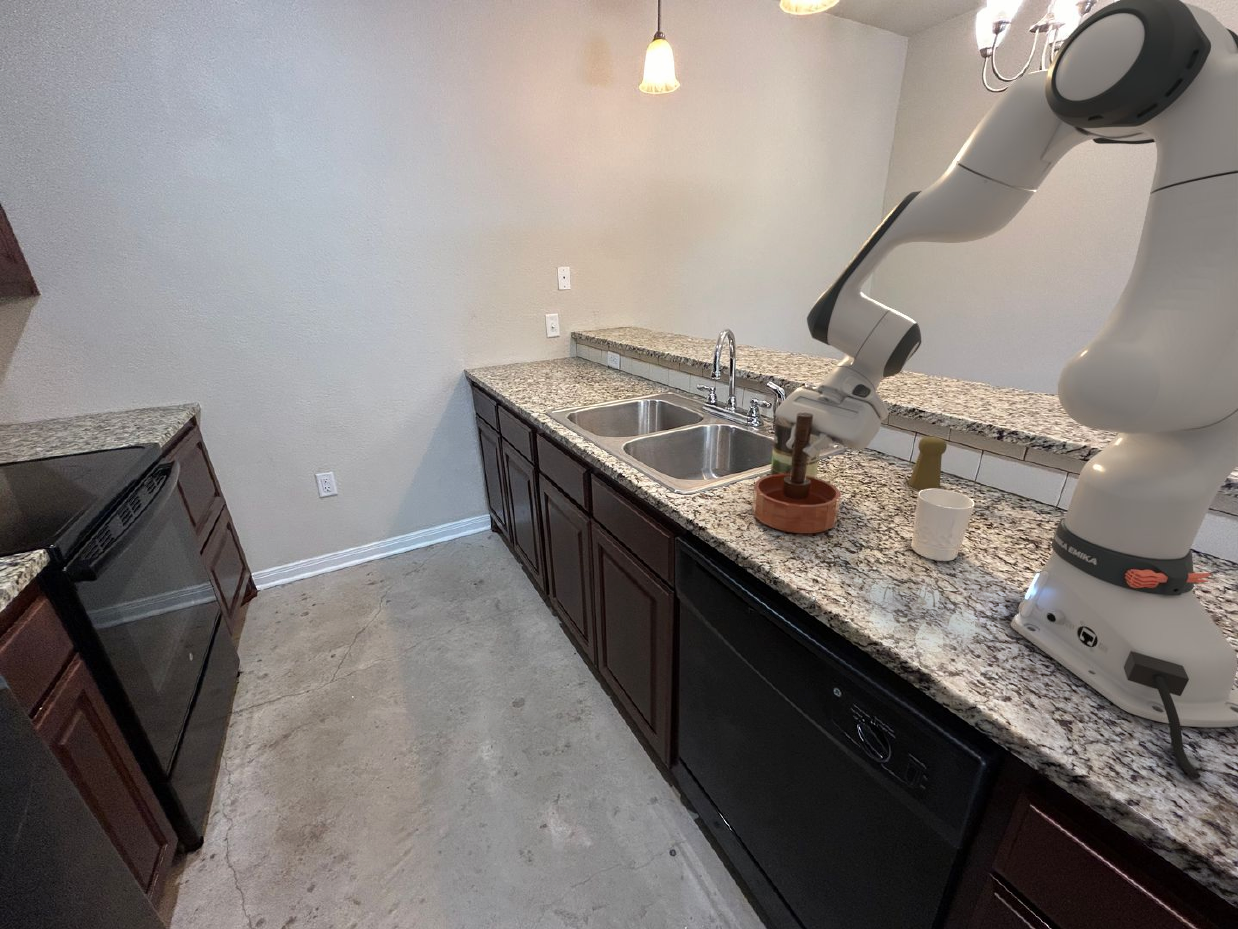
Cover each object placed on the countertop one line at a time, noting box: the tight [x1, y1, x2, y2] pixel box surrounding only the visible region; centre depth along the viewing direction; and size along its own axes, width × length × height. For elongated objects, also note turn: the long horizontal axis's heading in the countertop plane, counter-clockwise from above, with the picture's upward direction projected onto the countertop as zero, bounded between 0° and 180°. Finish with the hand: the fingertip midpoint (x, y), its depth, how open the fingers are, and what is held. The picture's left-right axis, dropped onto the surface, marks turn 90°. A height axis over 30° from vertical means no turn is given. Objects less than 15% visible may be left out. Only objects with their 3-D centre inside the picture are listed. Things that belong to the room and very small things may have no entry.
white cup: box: [910, 488, 976, 562], centre depth 83 cm, size 8×8×10 cm
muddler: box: [783, 413, 813, 499], centre depth 94 cm, size 5×5×16 cm
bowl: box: [752, 474, 841, 534], centre depth 97 cm, size 16×16×6 cm
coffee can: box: [769, 418, 821, 478], centre depth 112 cm, size 10×10×14 cm
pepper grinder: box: [908, 436, 948, 491], centre depth 109 cm, size 6×6×11 cm
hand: (798, 451), depth 93 cm, fingers closed on muddler, 3 cm apart
